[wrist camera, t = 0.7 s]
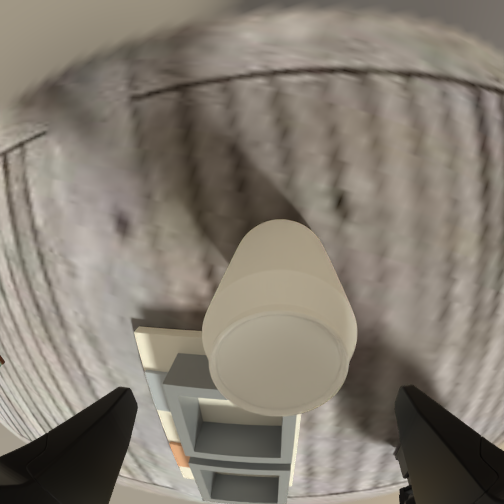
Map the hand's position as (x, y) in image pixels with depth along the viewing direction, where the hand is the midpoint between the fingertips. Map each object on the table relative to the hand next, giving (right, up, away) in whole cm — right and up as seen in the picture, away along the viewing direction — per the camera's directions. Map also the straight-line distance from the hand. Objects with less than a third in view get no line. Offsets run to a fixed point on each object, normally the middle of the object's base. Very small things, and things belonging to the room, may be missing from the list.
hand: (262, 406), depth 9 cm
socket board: (-3, -13, +18) cm, 23 cm away
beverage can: (+2, +4, +13) cm, 14 cm away
